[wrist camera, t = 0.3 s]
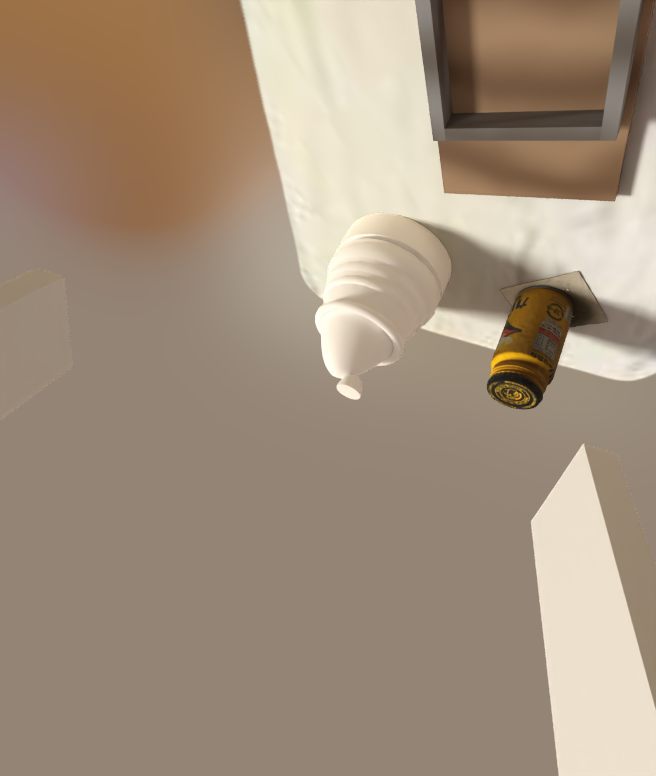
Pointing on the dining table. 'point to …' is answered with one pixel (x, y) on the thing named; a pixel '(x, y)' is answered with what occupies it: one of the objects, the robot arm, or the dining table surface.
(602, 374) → the dining table surface
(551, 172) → the board
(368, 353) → the honey pot
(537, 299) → the condiment
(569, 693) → the robot arm
